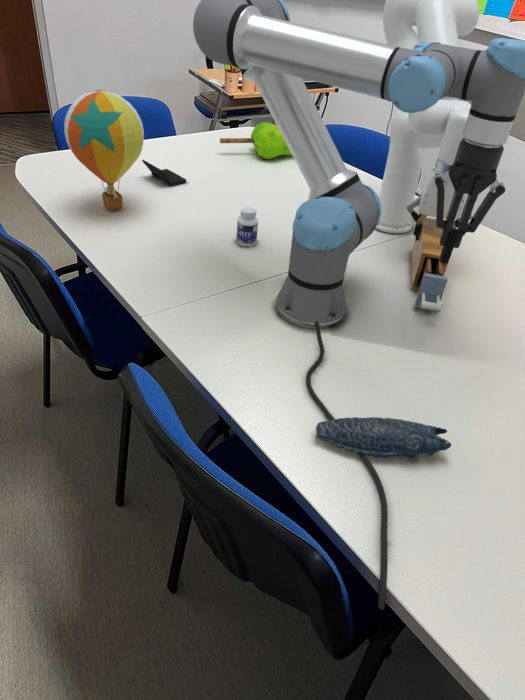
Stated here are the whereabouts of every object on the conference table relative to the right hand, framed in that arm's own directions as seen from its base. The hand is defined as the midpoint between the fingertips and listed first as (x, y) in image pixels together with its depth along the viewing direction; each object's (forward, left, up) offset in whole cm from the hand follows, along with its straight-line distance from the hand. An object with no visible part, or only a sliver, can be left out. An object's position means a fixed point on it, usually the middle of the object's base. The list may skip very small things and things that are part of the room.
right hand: (430, 239), depth 129 cm
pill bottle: (-11, -45, -7) cm, 46 cm away
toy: (-30, -80, -7) cm, 86 cm away
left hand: (+23, -8, +7) cm, 25 cm away
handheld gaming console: (-52, -67, -7) cm, 85 cm away
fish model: (+59, -30, -7) cm, 67 cm away
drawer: (+15, -5, -6) cm, 17 cm away
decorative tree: (-79, -33, -7) cm, 86 cm away
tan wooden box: (+4, -2, -7) cm, 8 cm away
